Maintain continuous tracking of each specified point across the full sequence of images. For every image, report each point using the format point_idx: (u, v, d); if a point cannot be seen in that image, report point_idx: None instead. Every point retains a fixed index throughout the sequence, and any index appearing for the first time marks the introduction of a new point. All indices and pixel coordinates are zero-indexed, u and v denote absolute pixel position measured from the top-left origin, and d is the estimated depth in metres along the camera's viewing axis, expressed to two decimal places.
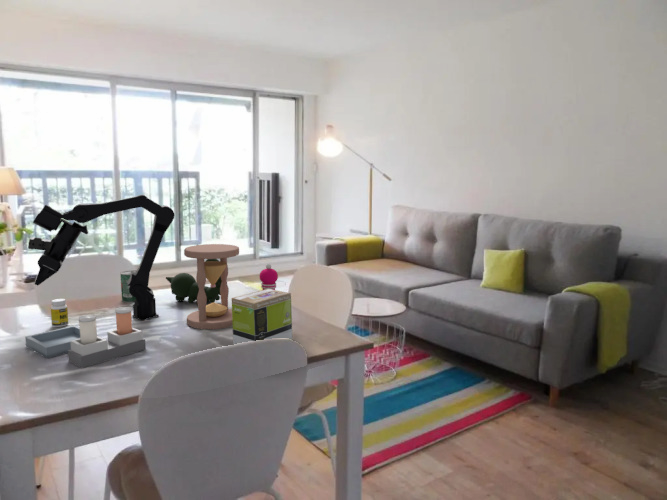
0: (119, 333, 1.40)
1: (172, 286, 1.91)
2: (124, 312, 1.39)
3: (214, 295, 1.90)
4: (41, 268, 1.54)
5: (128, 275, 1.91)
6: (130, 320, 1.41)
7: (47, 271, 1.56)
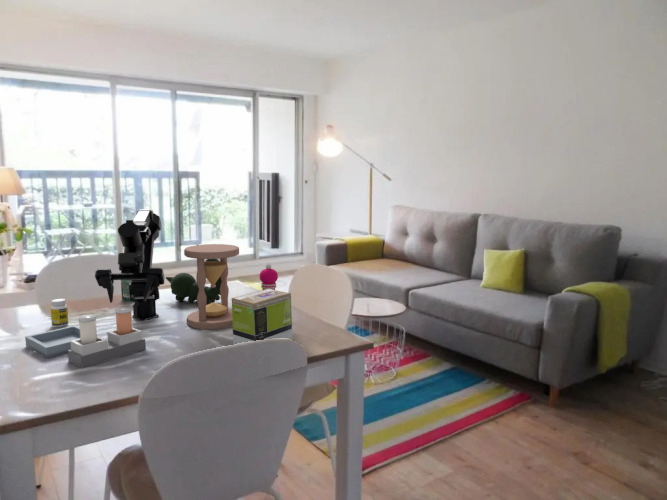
0: (119, 333, 1.40)
1: (172, 286, 1.91)
2: (124, 312, 1.39)
3: (214, 295, 1.90)
4: None
5: None
6: (130, 320, 1.41)
7: (150, 286, 1.52)
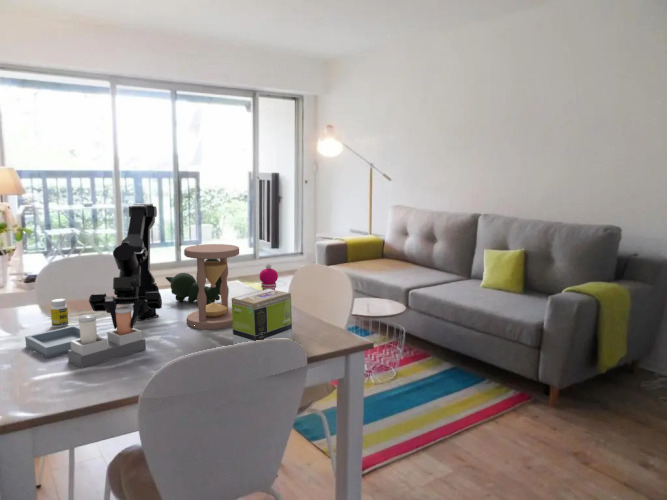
0: (119, 333, 1.40)
1: (172, 286, 1.91)
2: (124, 312, 1.39)
3: (214, 295, 1.90)
4: None
5: None
6: (130, 320, 1.41)
7: (138, 311, 1.45)
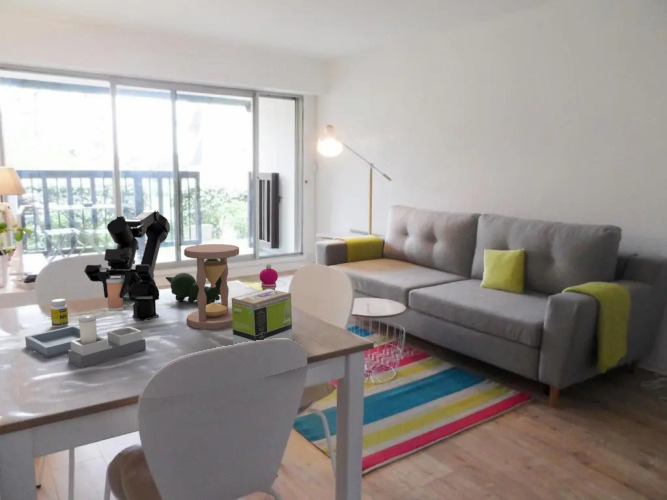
0: (109, 302, 1.47)
1: (172, 286, 1.91)
2: (113, 282, 1.46)
3: (214, 295, 1.90)
4: (130, 279, 1.50)
5: None
6: (120, 290, 1.48)
7: (129, 283, 1.51)
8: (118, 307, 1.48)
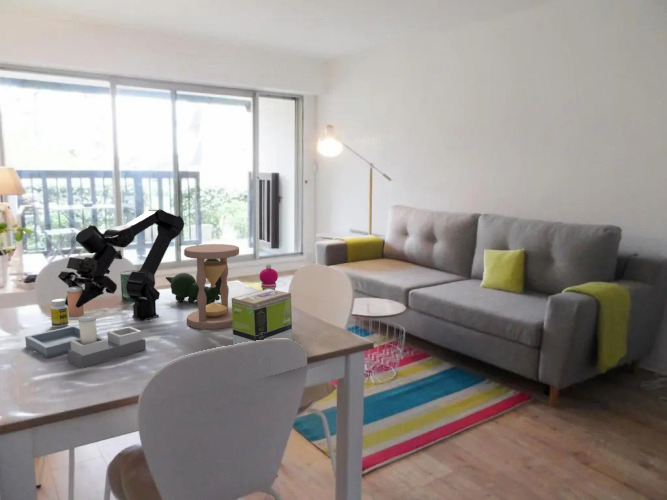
0: (68, 310, 1.48)
1: (172, 286, 1.91)
2: (70, 291, 1.46)
3: (214, 295, 1.90)
4: (89, 289, 1.48)
5: (128, 275, 1.91)
6: (77, 300, 1.47)
7: (91, 293, 1.50)
8: (75, 316, 1.48)
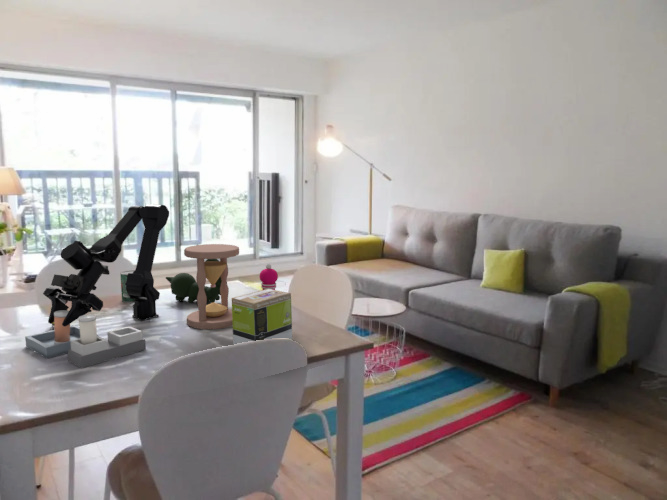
0: (54, 335, 1.44)
1: (172, 286, 1.91)
2: (57, 316, 1.42)
3: (214, 295, 1.90)
4: (76, 307, 1.44)
5: None
6: None
7: (78, 311, 1.45)
8: (61, 341, 1.44)
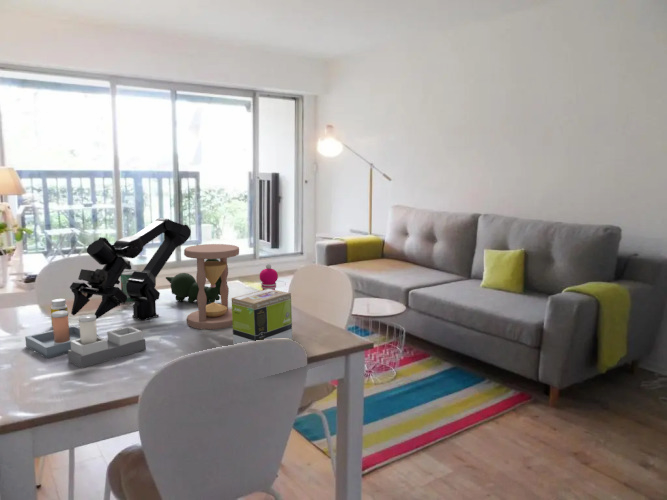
0: None
1: (172, 286, 1.91)
2: (55, 316, 1.42)
3: (214, 295, 1.90)
4: (106, 301, 1.51)
5: (128, 275, 1.91)
6: (63, 325, 1.44)
7: (108, 304, 1.53)
8: (60, 342, 1.44)
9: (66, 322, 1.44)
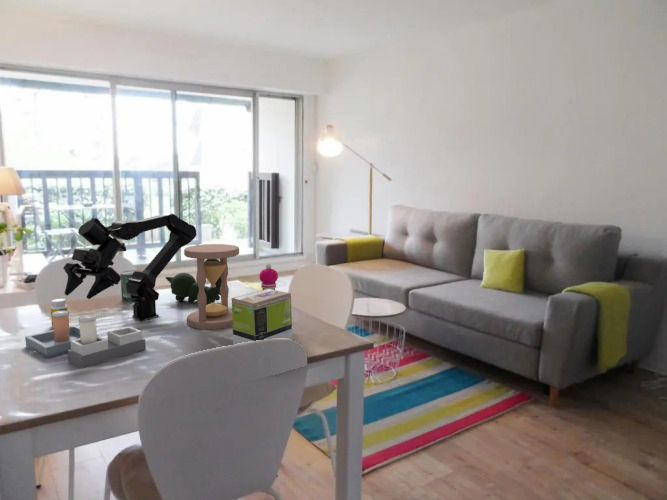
0: (54, 335, 1.44)
1: (172, 286, 1.91)
2: (56, 316, 1.43)
3: (214, 295, 1.90)
4: (99, 281, 1.51)
5: (128, 275, 1.91)
6: (63, 324, 1.44)
7: (101, 284, 1.53)
8: (61, 341, 1.44)
9: (67, 322, 1.45)
